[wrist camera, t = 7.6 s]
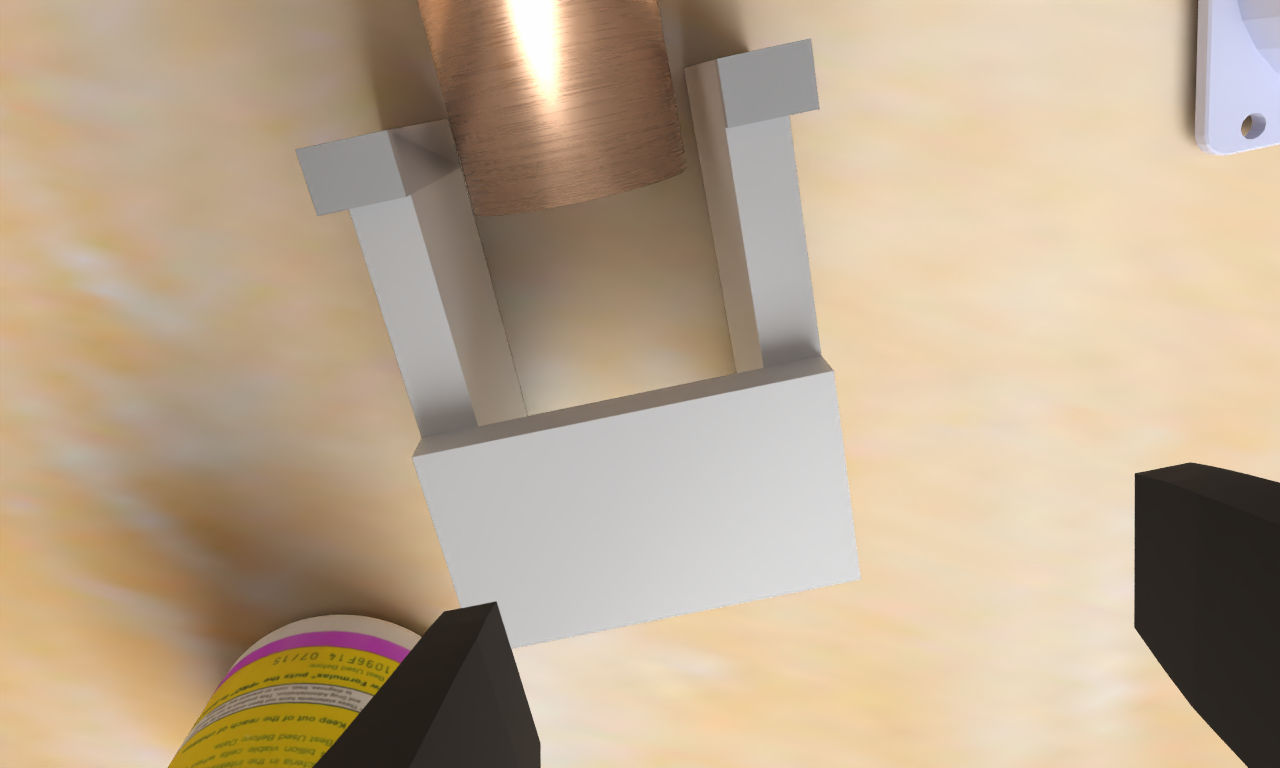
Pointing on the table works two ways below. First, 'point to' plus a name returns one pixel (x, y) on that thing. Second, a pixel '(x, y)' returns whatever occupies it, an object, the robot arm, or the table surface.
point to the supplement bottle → (295, 693)
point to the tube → (555, 98)
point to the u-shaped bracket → (626, 426)
